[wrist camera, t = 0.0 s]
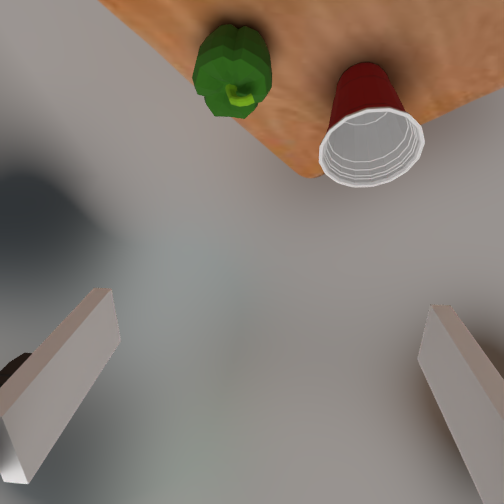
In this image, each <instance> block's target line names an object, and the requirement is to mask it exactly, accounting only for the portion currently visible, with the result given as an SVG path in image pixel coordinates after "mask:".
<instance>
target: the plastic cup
mask: <svg viewBox="0 0 504 504" xmlns="http://www.w3.org/2000/svg"><path fill="white" fill-rule="evenodd" d="M424 143H425V141H424V135H423V130H422V127H421V125H420V124H419V123H418V122H417V121H416V120H415V119H414V118H413V117H412V116H411V115H410V114H409V113H407V112H406V111H405V109H404V107H403V105H402V103H401V101H400V99H399V97H398V95H397V93H396V91H395V89H394V87H393V86H392V85H391V83H390V81H389V78H388V76H387V74H386V73H385V72H384V70H383V69H382V68H381V67H380V66H379V65H376V64H373V63H370V62H369V63H359V64H356V65H354V66H352V67H350V68H349V69H348V70H346V71H345V72H344V73H343V74H342V76H341V78H340V80H339V82H338V84H337V89H336V95H335V98H334V101H333V107H332V112H331V117H330V122H329V127H328V129H327V134H326V135H325V137H324V139H323V141H322V142H321V144H320V149H319V163H320V165H321V167H322V169H323V171H324V173H325V174H326V175H327V176H329V177H330V178H331V179H333V180H334V181H335V182H337V183H339V184H343V185H347V186H351V187H373V186H377V185H380V184H384V183H387V182H390V181H392V180H394V179H396V178H397V177H399V176H401V175H402V174H404V173H406V172H407V171H408V170H409V169H410V168H411V167H412V166H413V165H414V164H415V162H416V161H417V160H418V159H419V158H420V155H421V152H422V149H423V146H424Z"/></svg>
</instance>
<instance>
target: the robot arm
mask: <svg viewBox="0 0 504 504" xmlns="http://www.w3.org/2000/svg"><path fill="white" fill-rule="evenodd" d="M120 342H121V339H120V333H119V327H118V322H117V317H116V311H115V306H114V301H113V295H112V289H106V288H94V289H93V290H92V291H91V292H90V293H89V294H88V295H87V296H86V297H85V298H84V299H83V300H82V301H81V302H80V304H78V306H77V307H76V308H75V309H74V310H73V311H72V312H71V313H70V314H69V315H68V316H67V317H66V318H65V319H64V320H63V322H62V323H61V324H60V325H59V326H58V327H57V328H56V329H55V330H54V331H53V332H52V333H51V334H50V335H49V336H48V338H47V339H46V340H45V341H44V342H43V343H42V344H41V345H40V346H39V347H38V348H37V349H36V350H35V351H34V352H33V353H23V354H22V355H20V356H19V357H17V358H15V359H14V360H12V361H11V362H9V363H8V364H7V365H6V366H5V367H4V368H3V369H2V370H1V371H0V474H1V476H2V478H3V480H4V482H12V483H22V484H29V483H30V481H31V479H32V478H33V476H34V475H35V473H36V472H37V470H38V468H39V467H40V466H41V464H42V462H43V461H44V459H45V458H46V456H47V455H48V453H49V451H50V450H51V448H52V447H53V445H54V444H55V442H56V441H57V439H58V437H59V436H60V435H61V433H62V431H63V430H64V428H65V427H66V425H67V424H68V422H69V421H70V419H71V417H72V416H73V414H74V413H75V411H76V410H77V408H78V407H79V405H80V403H81V402H82V400H83V399H84V397H85V396H86V394H87V393H88V391H89V390H90V388H91V387H92V385H93V383H94V382H95V380H96V379H97V377H98V376H99V374H100V373H101V371H102V369H103V368H104V366H105V365H106V363H107V362H108V360H109V359H110V357H111V356H112V353H113V352H114V351H115V349H116V348H117V346H118V345H119V343H120ZM417 359H418V362H419V364H420V366H421V368H422V370H423V373H424V375H425V377H426V379H427V381H428V384H429V386H430V388H431V390H432V392H433V394H434V397H435V399H436V401H437V403H438V405H439V408H440V410H441V412H442V414H443V416H444V419H445V421H446V423H447V425H448V427H449V429H450V432H451V433H452V436H453V438H454V440H455V442H456V445H457V447H458V449H459V451H460V453H461V456H462V458H463V460H464V462H465V464H466V467H467V469H468V471H469V473H470V475H471V477H472V480H473V482H474V484H475V486H476V488H477V490H478V493H479V495H480V497H481V499H482V501H483V503H484V504H504V380H503V378H502V377H501V376H500V374H499V373H498V371H497V370H496V368H495V367H494V366H493V364H492V363H491V362H490V360H489V359H488V358H487V356H486V354H484V352H483V350H482V349H481V348H480V346H479V345H478V343H477V342H476V341H475V339H474V338H473V336H472V335H471V334H470V332H469V331H468V329H467V328H466V327H465V325H464V324H463V322H462V321H461V320H460V318H459V317H458V315H457V314H456V313H455V311H454V310H453V308H452V307H451V306H450V305H430V309H429V313H428V317H427V321H426V325H425V329H424V333H423V337H422V341H421V346H420V350H419V354H418V358H417Z"/></svg>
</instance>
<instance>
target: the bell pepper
mask: <svg viewBox="0 0 504 504" xmlns="http://www.w3.org/2000/svg"><path fill="white" fill-rule="evenodd" d="M192 79H193V82H194V86H195V89H196V91H197V94H199V95H202V96H204V98H205V102H206V104H207V106H208V107H209V109H210V110H211V112H212V113H213V114H214V116H225V117H228V116H229V117H236V118H242V119H245V118H246V117H247V116H248V115H249V114H250V113H251V112H252V111H254V110H255V108H256V107H257V106H258V103H259V102H262V101H263V100H264V98H265V97H266V96H267V94H268V92H269V91H270V89H271V87H272V70H271V61H270V55H269V51H268V48H267V46H266V43H265V41H264V40H263V38H262V37H261V35H260V34H259V33H258V31H256V30H253V29H251V28H249V27H246V26H244V27H242V28H240V29H237V28H236V27H234V26H233V25H231V24H228V25H221V26H220V27H218V28H217V29H216V30H215V31H213V32H212V33H211V34H210V35H209V36H208V37H207V38H206V39H205V41H204V42H203V43H202V45H201V46H200V49H199V52H198V56H197V60H196V64H195V68H194V72H193V76H192Z"/></svg>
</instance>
